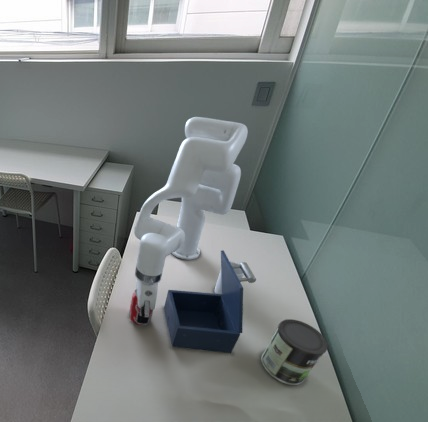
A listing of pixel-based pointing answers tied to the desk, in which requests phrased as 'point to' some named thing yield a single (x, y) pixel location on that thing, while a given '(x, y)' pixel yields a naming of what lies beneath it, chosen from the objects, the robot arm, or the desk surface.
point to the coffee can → (293, 351)
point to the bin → (200, 321)
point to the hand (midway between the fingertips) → (140, 312)
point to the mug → (219, 282)
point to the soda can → (137, 310)
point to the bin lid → (234, 288)
